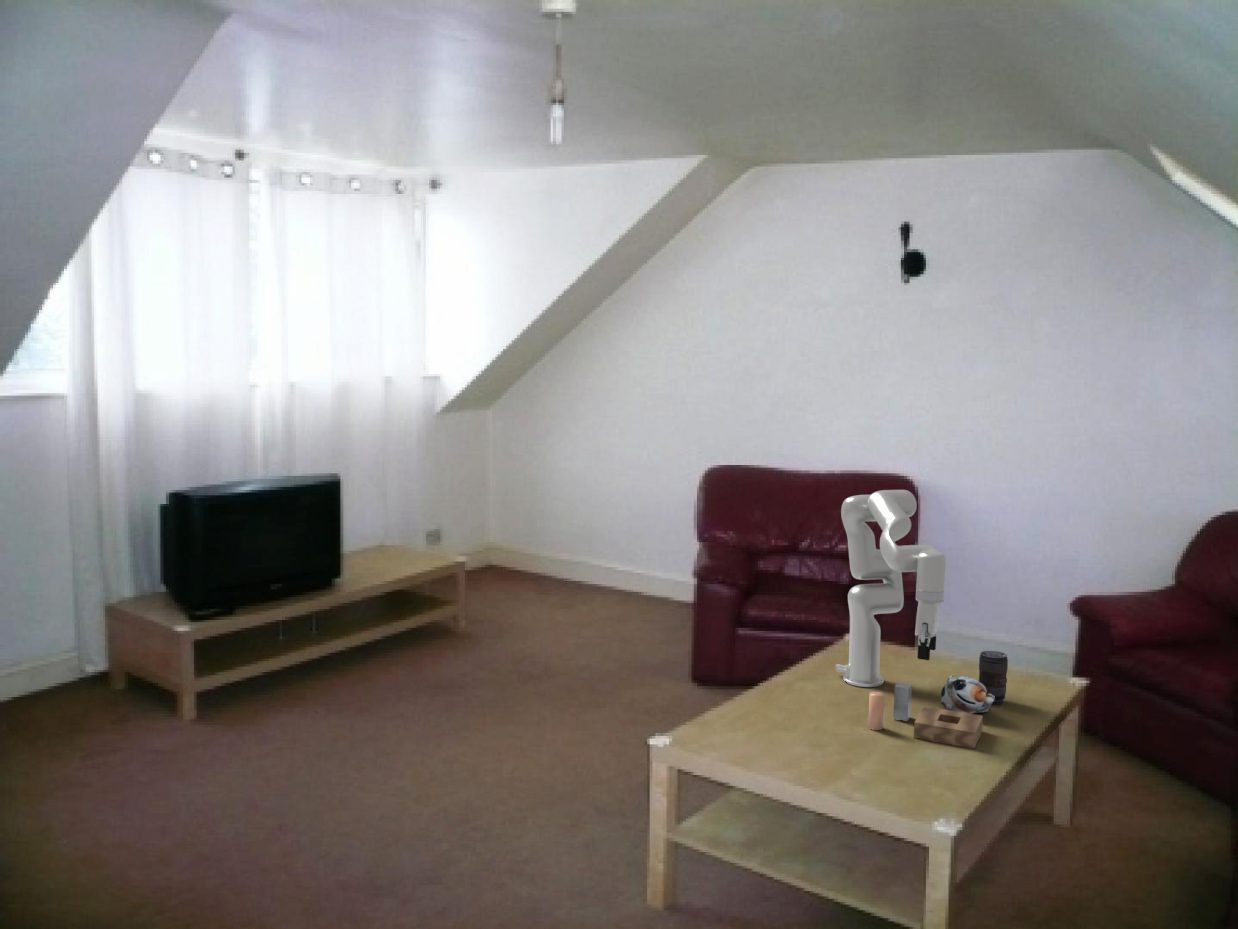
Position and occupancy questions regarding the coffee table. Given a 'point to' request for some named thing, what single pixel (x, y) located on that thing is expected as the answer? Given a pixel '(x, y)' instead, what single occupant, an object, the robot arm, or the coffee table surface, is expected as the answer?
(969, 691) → the lucky cat figurine
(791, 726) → the coffee table surface
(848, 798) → the coffee table surface
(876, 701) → the round bit
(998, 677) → the camera lens
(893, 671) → the coffee table surface
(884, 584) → the robot arm
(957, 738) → the bore block
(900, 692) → the square bit
